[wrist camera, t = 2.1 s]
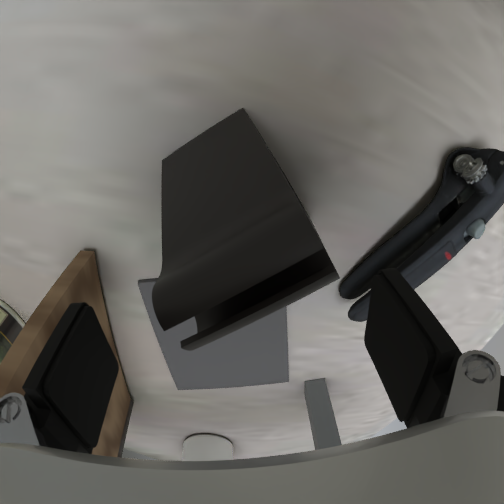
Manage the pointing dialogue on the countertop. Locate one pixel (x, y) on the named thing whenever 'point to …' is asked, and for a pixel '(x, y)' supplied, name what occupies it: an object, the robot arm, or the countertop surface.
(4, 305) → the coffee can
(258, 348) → the rubber mat
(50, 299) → the gate door
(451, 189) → the can opener
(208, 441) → the can
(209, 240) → the phone stand
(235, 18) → the countertop surface
